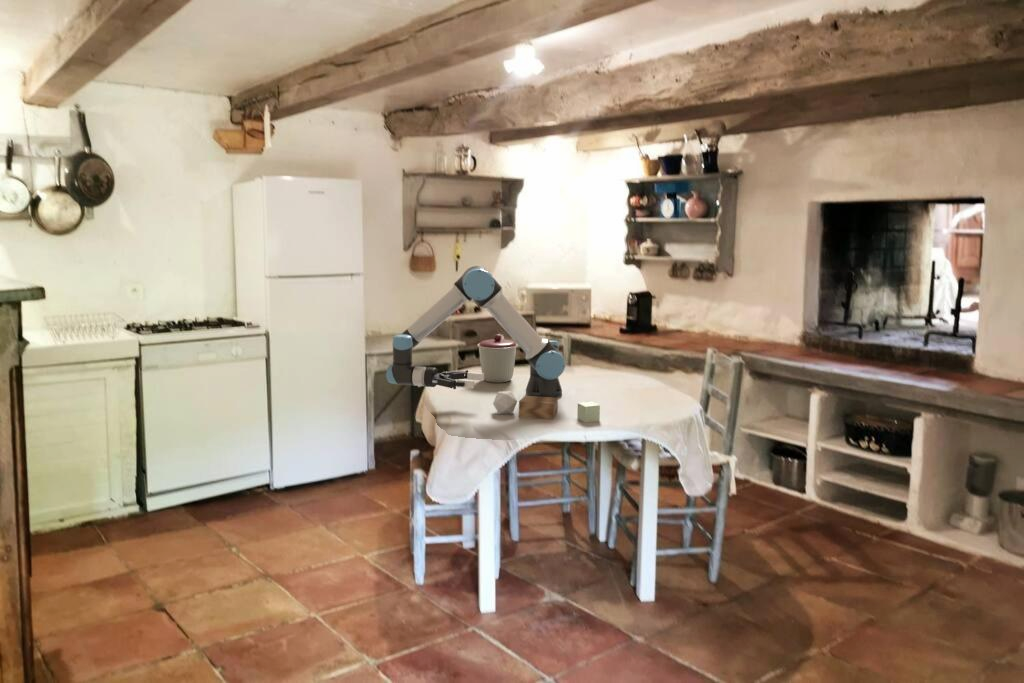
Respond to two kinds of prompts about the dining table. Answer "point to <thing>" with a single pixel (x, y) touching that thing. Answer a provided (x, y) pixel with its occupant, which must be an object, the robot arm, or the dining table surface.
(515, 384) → the dining table surface
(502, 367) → the canister
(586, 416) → the green cube
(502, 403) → the die
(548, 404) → the plinth
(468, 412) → the dining table surface
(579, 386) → the dining table surface
